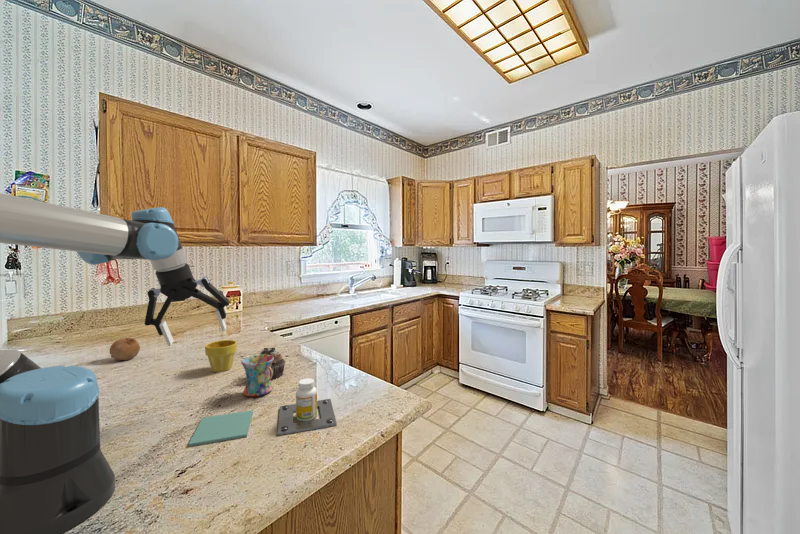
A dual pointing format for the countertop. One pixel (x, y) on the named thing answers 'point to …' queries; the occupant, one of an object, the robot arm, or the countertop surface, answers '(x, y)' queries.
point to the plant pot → (221, 354)
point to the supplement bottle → (306, 400)
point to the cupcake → (275, 362)
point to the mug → (258, 374)
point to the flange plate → (289, 427)
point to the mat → (222, 428)
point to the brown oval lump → (124, 349)
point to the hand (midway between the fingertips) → (198, 336)
